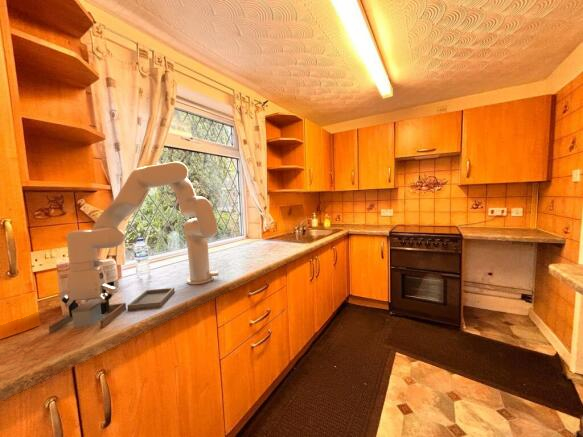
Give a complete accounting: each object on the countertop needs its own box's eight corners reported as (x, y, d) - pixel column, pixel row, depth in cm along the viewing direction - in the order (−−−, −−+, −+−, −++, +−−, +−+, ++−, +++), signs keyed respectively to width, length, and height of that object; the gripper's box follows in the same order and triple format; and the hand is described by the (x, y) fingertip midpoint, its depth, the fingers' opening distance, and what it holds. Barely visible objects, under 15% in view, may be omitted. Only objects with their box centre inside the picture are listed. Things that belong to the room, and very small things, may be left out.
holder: (126, 309, 91) (125, 302, 91) (103, 327, 78) (102, 320, 77) (80, 313, 89) (80, 307, 89) (49, 333, 75) (48, 326, 75)
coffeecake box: (87, 309, 92) (81, 260, 91) (61, 316, 87) (55, 264, 86) (84, 299, 103) (78, 255, 101) (61, 305, 98) (55, 258, 96)
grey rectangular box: (107, 313, 88) (105, 298, 88) (91, 326, 79) (89, 309, 79) (92, 315, 87) (90, 299, 87) (73, 328, 78) (71, 311, 78)
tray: (174, 291, 107) (174, 287, 107) (160, 307, 91) (160, 302, 91) (146, 294, 105) (146, 290, 105) (127, 310, 90) (127, 305, 90)
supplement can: (94, 297, 105) (90, 263, 104) (99, 291, 112) (95, 260, 111) (117, 293, 109) (113, 260, 107) (120, 287, 116) (117, 257, 115)
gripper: (118, 261, 87) (123, 306, 88) (65, 265, 84) (70, 311, 85) (105, 266, 79) (110, 316, 80) (46, 271, 77) (53, 322, 78)
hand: (90, 314), depth 83 cm, fingers open, 9 cm apart
